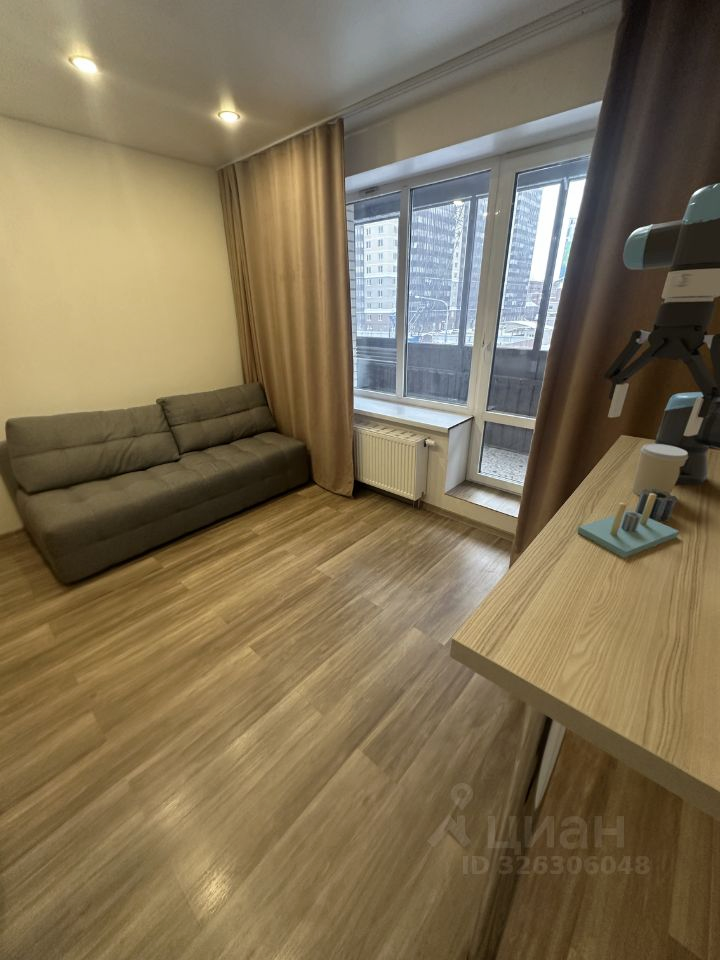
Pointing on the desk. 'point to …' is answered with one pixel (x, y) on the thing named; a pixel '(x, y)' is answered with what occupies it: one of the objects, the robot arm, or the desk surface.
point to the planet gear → (657, 504)
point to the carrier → (628, 530)
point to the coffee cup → (658, 468)
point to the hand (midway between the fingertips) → (648, 425)
